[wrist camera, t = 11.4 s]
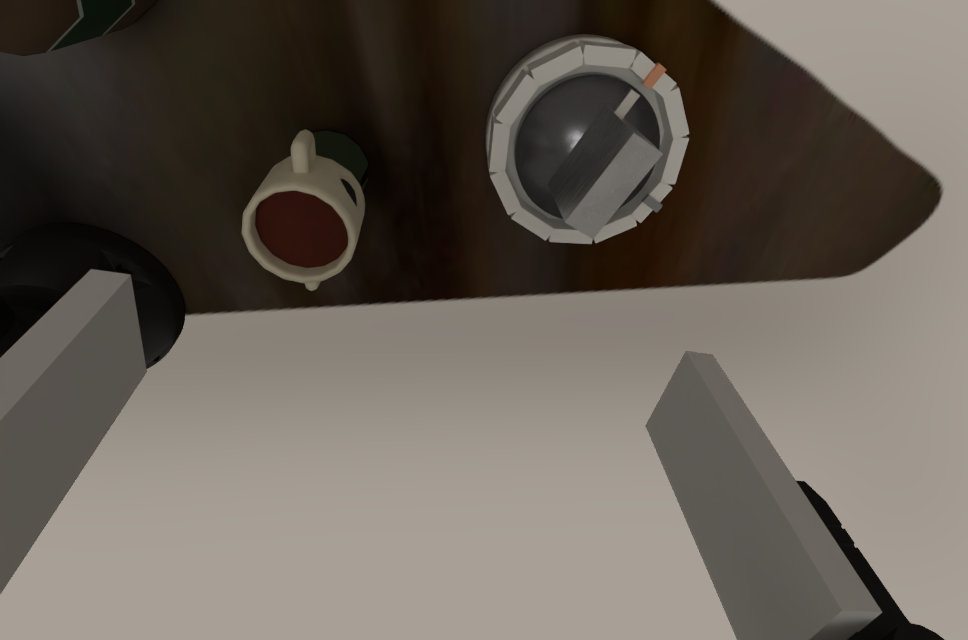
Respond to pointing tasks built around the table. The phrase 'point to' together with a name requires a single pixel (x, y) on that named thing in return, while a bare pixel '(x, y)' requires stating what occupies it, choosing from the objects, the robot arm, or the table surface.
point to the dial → (586, 148)
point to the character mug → (309, 209)
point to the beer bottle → (62, 22)
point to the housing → (553, 66)
